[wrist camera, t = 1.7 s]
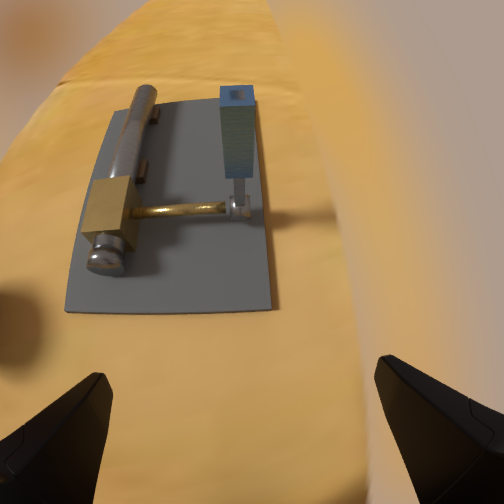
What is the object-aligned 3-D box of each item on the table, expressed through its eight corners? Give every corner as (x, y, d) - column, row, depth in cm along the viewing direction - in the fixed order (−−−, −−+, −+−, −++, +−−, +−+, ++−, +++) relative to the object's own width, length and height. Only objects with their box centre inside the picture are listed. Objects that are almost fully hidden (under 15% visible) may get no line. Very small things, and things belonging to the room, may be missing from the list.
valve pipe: (228, 274, 24) (225, 253, 20) (96, 278, 23) (75, 260, 20) (225, 97, 33) (224, 71, 30) (136, 107, 33) (129, 83, 29)
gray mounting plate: (271, 310, 23) (271, 308, 23) (67, 312, 22) (64, 311, 22) (251, 100, 34) (251, 96, 34) (115, 114, 33) (114, 111, 33)
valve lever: (251, 223, 25) (255, 105, 14) (229, 224, 25) (219, 106, 14) (250, 203, 25) (252, 85, 15) (229, 204, 25) (220, 86, 14)
